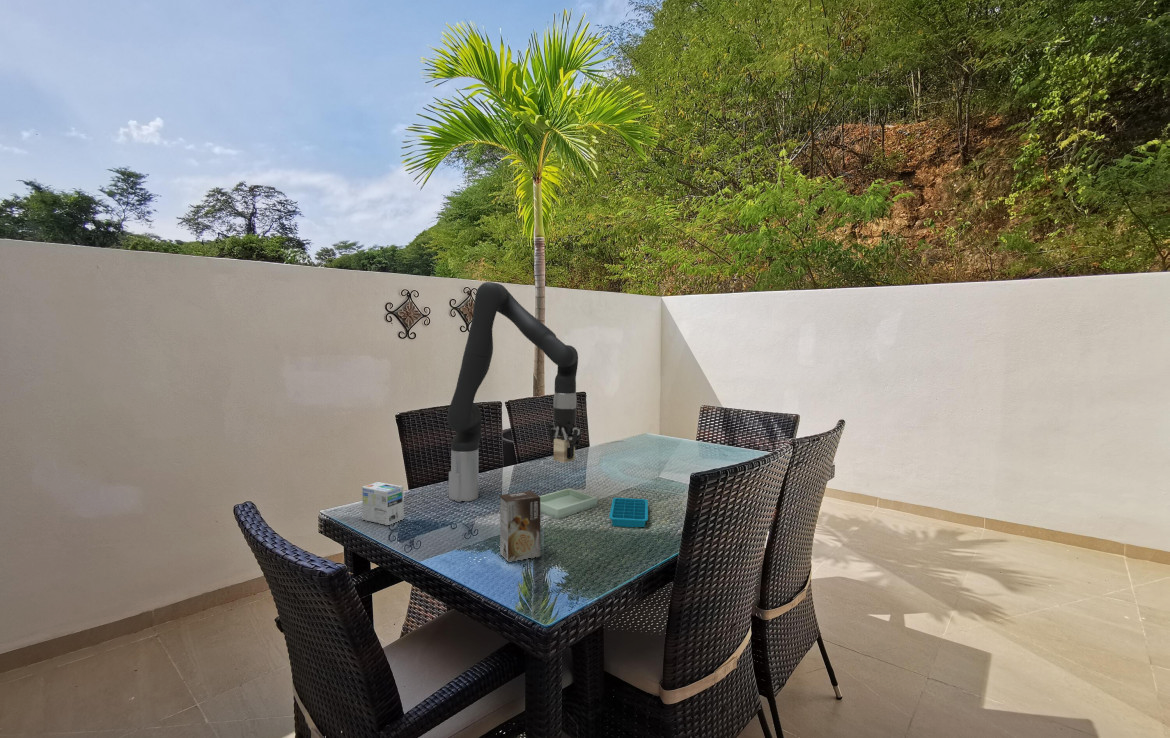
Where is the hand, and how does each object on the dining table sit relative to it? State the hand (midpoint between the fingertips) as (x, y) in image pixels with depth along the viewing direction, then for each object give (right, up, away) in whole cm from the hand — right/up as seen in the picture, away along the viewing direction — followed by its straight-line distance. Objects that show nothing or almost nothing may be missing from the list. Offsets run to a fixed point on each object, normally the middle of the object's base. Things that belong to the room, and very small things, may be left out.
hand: (564, 456), depth 174 cm
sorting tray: (0, -17, +1) cm, 17 cm away
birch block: (0, -1, 0) cm, 1 cm away
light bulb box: (-55, -17, -14) cm, 59 cm away
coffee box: (-10, -20, -37) cm, 43 cm away
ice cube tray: (+21, -18, -6) cm, 29 cm away
